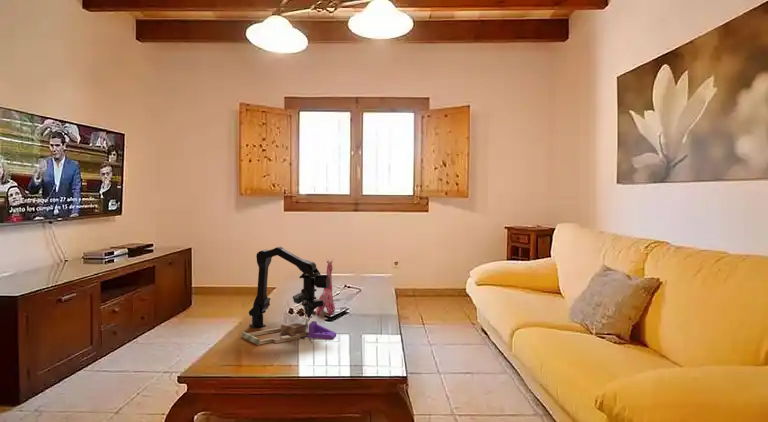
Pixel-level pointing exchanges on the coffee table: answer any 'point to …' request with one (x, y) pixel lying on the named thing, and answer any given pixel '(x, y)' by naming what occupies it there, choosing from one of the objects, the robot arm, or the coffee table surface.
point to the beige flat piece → (282, 339)
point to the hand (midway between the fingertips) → (308, 317)
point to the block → (292, 328)
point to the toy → (327, 293)
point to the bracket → (320, 331)
